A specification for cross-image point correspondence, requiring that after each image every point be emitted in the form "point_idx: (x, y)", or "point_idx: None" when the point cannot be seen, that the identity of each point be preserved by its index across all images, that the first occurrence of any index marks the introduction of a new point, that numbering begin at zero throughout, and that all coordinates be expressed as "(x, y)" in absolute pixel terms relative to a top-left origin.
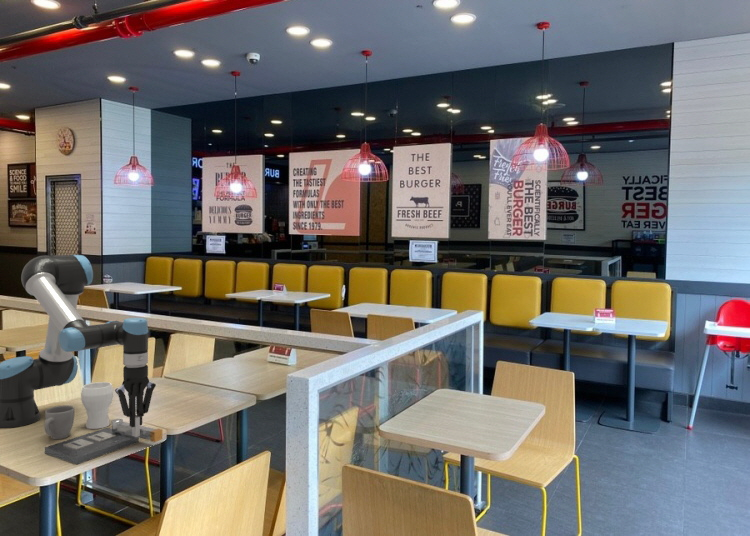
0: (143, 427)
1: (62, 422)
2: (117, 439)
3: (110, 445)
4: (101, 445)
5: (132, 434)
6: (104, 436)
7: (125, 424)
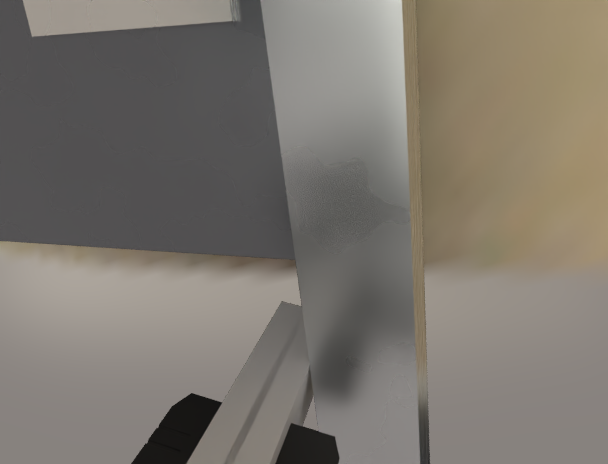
0: (383, 427)
1: None
2: (198, 140)
3: (85, 229)
4: (26, 156)
5: (277, 314)
6: None
7: (310, 86)
